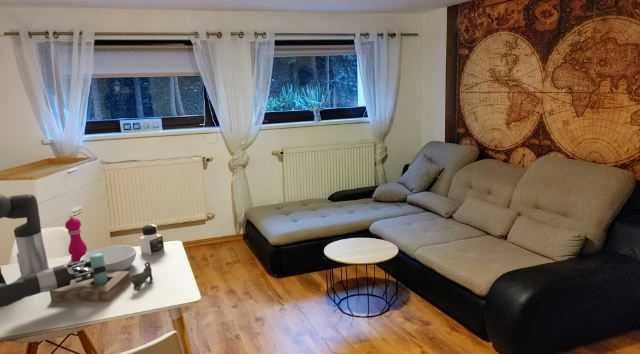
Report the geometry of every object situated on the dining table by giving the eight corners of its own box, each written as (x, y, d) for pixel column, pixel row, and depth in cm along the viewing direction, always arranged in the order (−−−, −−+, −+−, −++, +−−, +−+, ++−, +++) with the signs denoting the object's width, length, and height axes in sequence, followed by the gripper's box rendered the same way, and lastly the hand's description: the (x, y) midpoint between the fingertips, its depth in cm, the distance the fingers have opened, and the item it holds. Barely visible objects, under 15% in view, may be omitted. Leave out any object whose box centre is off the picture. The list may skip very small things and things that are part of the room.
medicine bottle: (151, 255, 207) (147, 229, 204) (141, 252, 210) (137, 227, 207) (164, 249, 212) (161, 224, 210) (154, 247, 216) (150, 222, 213)
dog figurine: (144, 278, 185) (141, 260, 183) (157, 279, 183) (155, 261, 182) (125, 292, 173) (122, 274, 172) (139, 293, 172) (136, 274, 170)
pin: (93, 293, 174) (86, 258, 171) (100, 287, 178) (94, 253, 175) (105, 293, 173) (98, 258, 170) (111, 287, 178) (105, 253, 174)
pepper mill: (70, 263, 203) (61, 219, 198) (70, 257, 209) (61, 214, 204) (88, 259, 206) (81, 216, 201) (88, 254, 212) (80, 211, 207)
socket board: (51, 301, 170) (49, 290, 169) (78, 280, 185) (76, 271, 184) (109, 301, 167) (107, 291, 166) (131, 280, 183) (129, 271, 182)
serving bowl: (125, 280, 184) (123, 264, 182) (72, 282, 184) (69, 266, 183) (145, 258, 204) (143, 243, 202) (98, 260, 205) (95, 245, 203)
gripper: (55, 275, 158) (105, 261, 168) (47, 262, 169) (95, 250, 179) (59, 295, 160) (109, 280, 170) (51, 282, 171) (98, 268, 181)
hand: (102, 264), depth 174 cm, fingers open, 8 cm apart
